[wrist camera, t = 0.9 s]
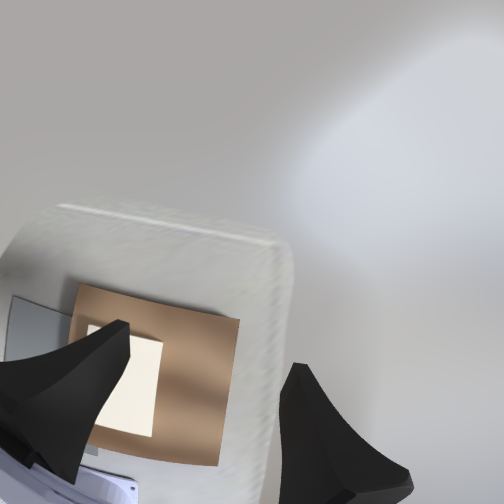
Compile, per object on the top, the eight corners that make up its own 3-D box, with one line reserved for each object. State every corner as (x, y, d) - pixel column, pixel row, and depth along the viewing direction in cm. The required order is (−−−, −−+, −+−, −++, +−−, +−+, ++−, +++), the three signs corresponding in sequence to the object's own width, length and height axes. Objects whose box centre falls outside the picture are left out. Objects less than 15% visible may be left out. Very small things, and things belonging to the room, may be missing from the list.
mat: (98, 454, 17) (97, 456, 17) (7, 418, 15) (5, 419, 14) (108, 327, 21) (108, 327, 21) (15, 296, 19) (13, 295, 18)
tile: (151, 430, 18) (151, 437, 17) (83, 413, 17) (79, 418, 16) (163, 341, 21) (163, 342, 20) (93, 324, 19) (88, 324, 18)
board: (213, 457, 21) (217, 466, 19) (68, 428, 17) (62, 435, 16) (233, 320, 25) (239, 319, 23) (85, 286, 22) (79, 282, 20)
